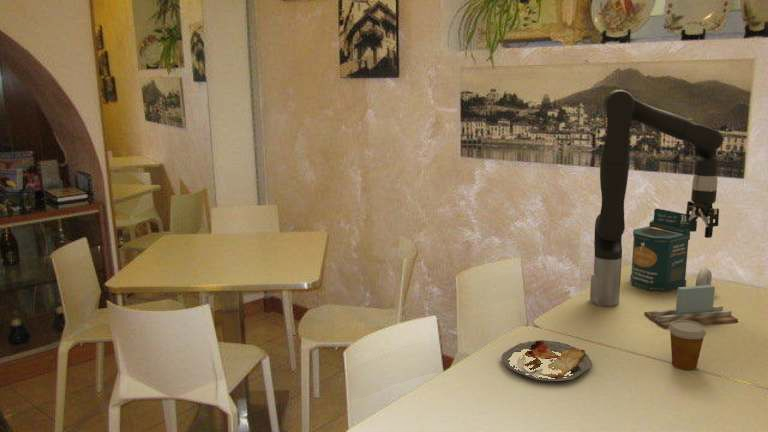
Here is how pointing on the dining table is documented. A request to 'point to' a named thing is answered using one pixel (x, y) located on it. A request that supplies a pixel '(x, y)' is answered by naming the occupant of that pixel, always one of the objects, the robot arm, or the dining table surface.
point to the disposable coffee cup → (686, 343)
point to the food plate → (566, 362)
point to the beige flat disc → (704, 277)
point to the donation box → (661, 252)
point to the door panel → (695, 299)
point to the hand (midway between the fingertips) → (700, 234)
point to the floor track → (692, 317)
